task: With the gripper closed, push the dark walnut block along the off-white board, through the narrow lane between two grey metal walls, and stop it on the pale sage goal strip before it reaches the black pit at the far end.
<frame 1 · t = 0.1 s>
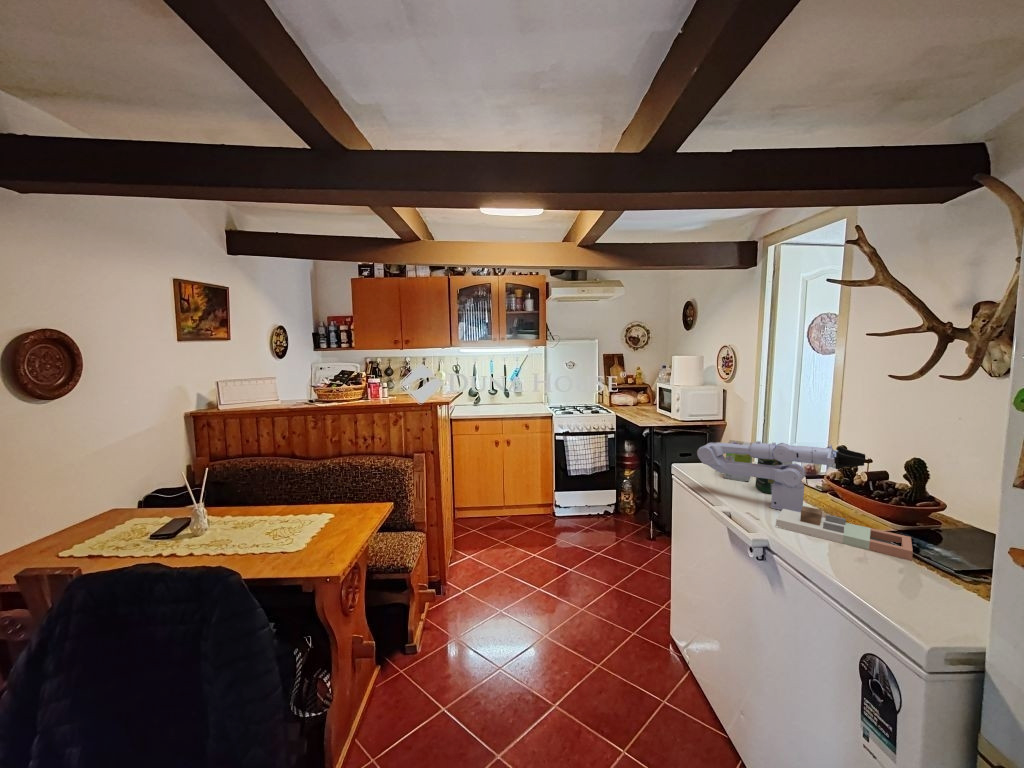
hand: (864, 459, 137), 22 cm above the table, tool horizontal, fingers open, 7 cm apart
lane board: (839, 535, 131), on the table
walnut block: (810, 520, 136), point 2 cm above the table, touching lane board
tea box: (737, 476, 190), on the table
coffee jar: (767, 491, 171), on the table
supplement box: (780, 483, 181), on the table
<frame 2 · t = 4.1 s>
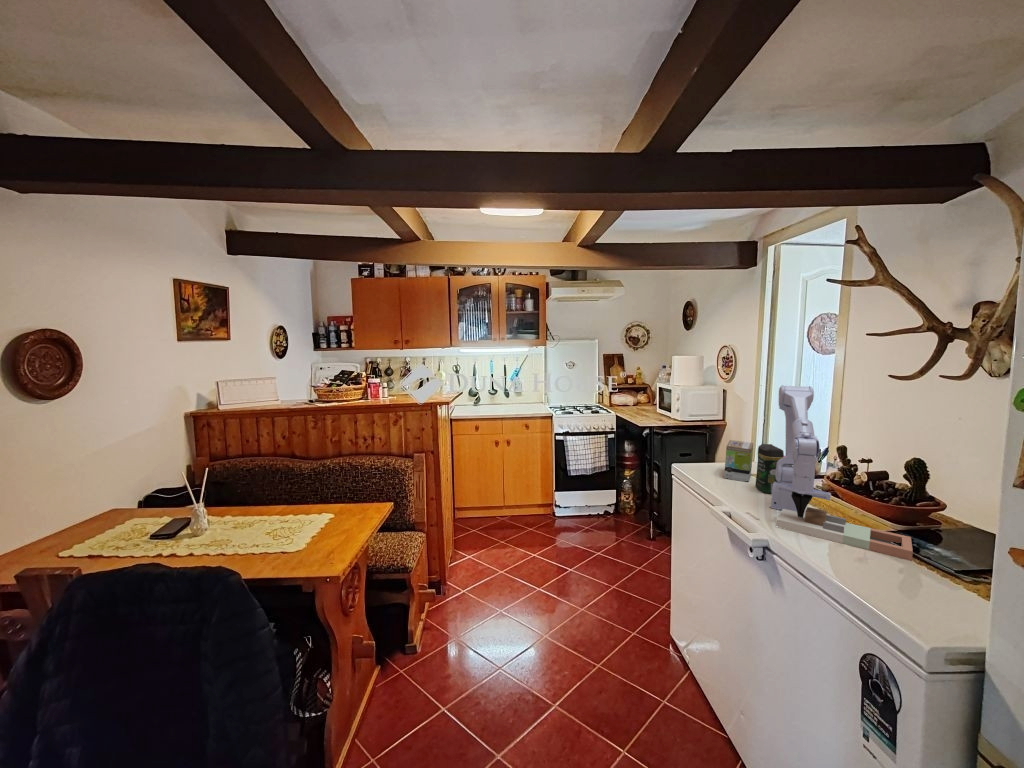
hand: (800, 516, 137), 3 cm above the table, tool pointing down, fingers closed
walnut block: (815, 521, 135), point 3 cm above the table, touching gripper
everything else where it was.
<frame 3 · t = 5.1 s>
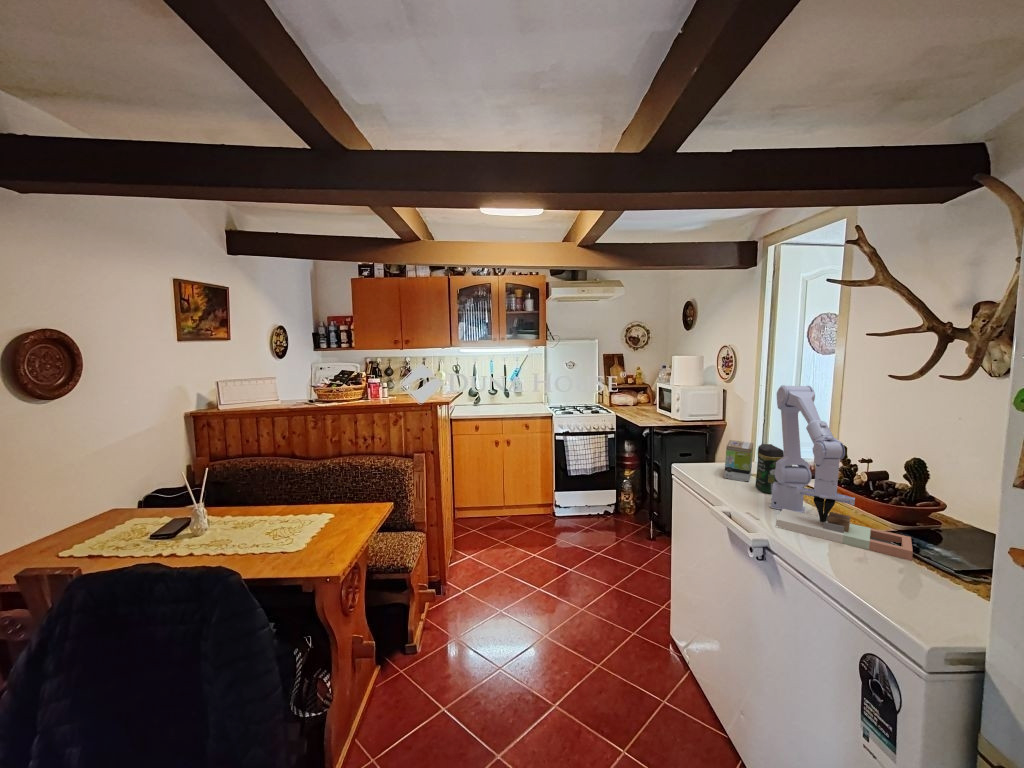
hand: (822, 521, 134), 3 cm above the table, tool pointing down, fingers closed
walnut block: (838, 527, 131), point 3 cm above the table, touching gripper, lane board
everything else where it was.
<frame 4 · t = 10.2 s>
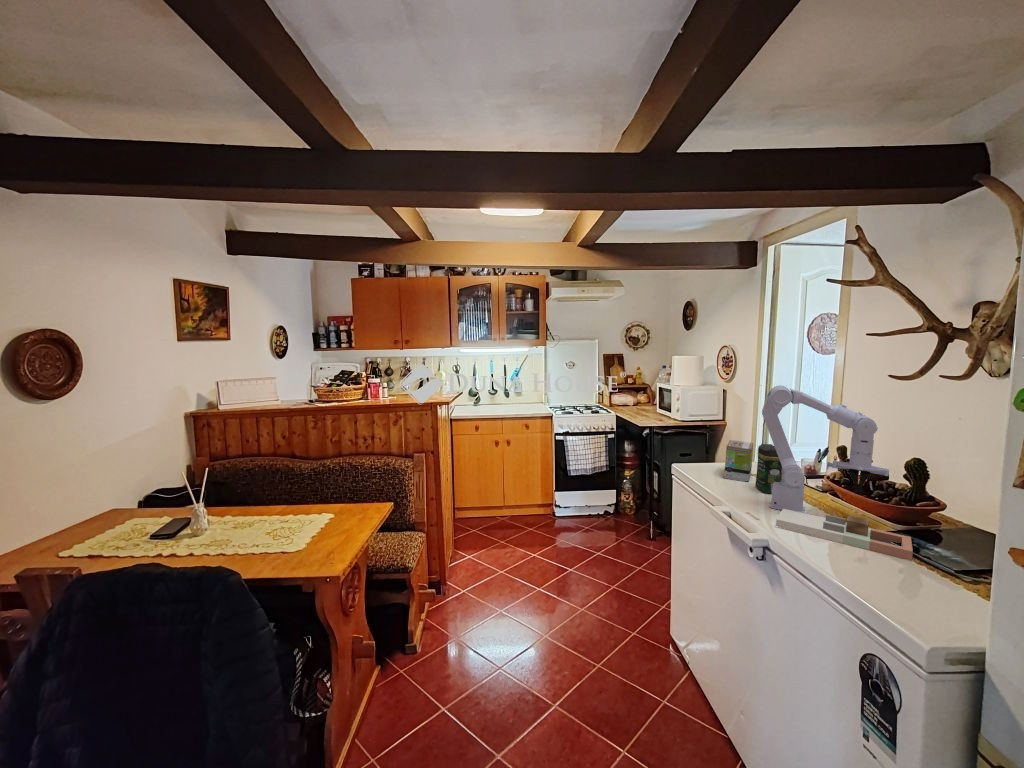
hand: (857, 492, 142), 9 cm above the table, tool pointing down, fingers closed
walnut block: (857, 531, 128), point 2 cm above the table, touching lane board
everything else where it was.
at the end: walnut block 0.3 cm from the target spot, point 2.5 cm above the table; walnut block tilted 0° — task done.
